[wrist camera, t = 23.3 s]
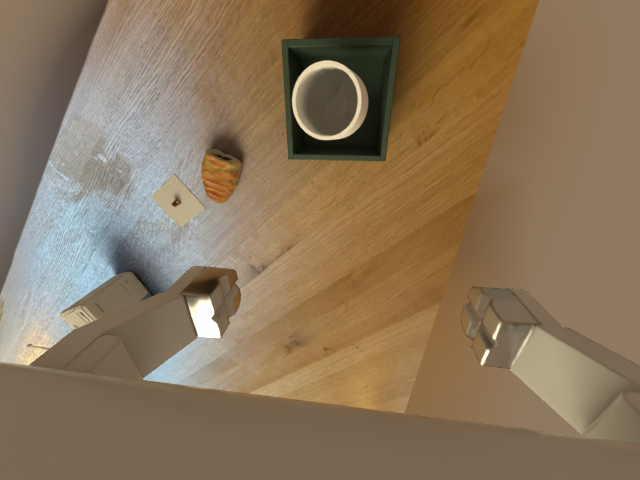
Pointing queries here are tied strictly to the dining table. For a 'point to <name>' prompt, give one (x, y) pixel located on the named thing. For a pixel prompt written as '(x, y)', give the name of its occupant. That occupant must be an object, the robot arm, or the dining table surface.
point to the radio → (105, 300)
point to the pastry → (220, 175)
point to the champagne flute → (329, 101)
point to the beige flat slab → (177, 201)
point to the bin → (378, 77)
